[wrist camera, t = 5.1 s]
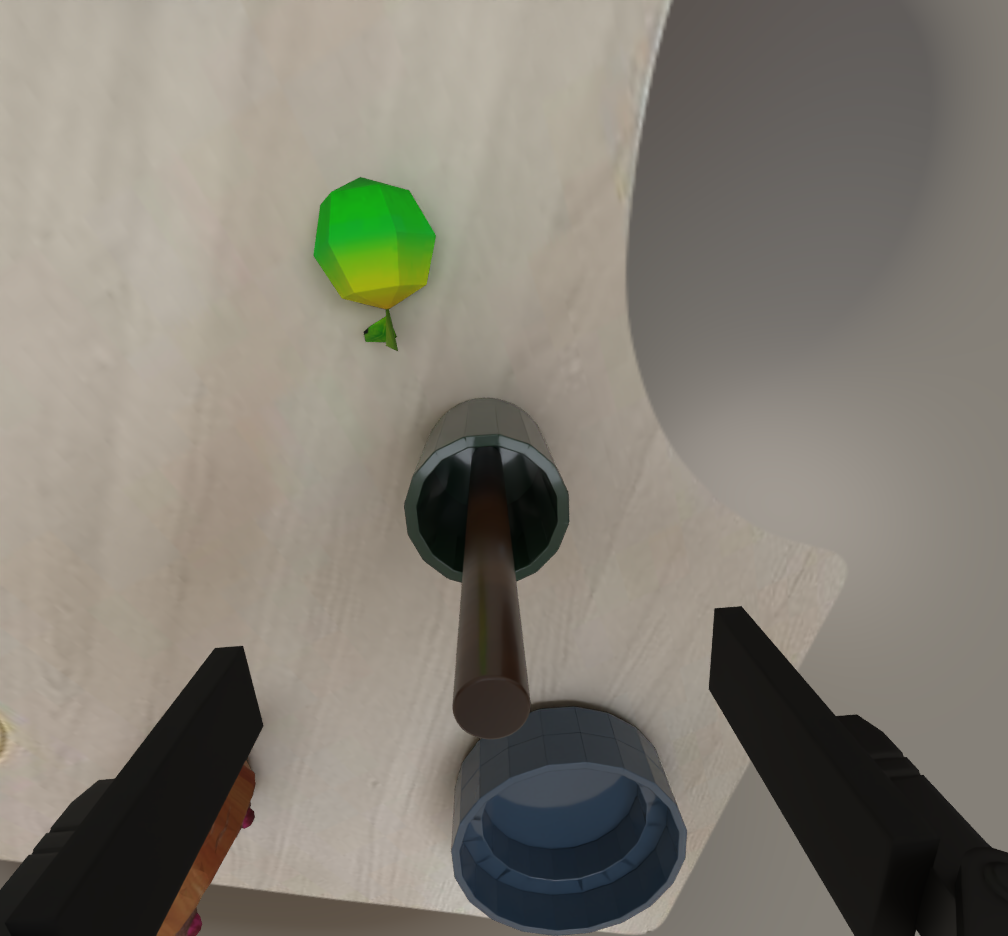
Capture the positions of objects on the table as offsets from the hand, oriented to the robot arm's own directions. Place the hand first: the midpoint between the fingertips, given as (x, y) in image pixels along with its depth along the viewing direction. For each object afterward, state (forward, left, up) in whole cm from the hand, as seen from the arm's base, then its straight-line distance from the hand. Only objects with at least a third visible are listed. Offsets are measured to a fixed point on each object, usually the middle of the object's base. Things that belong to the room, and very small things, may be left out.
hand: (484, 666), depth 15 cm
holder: (0, 0, -21) cm, 21 cm away
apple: (+5, -12, -22) cm, 25 cm away
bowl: (-4, +29, -21) cm, 36 cm away
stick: (0, 0, -21) cm, 21 cm away
